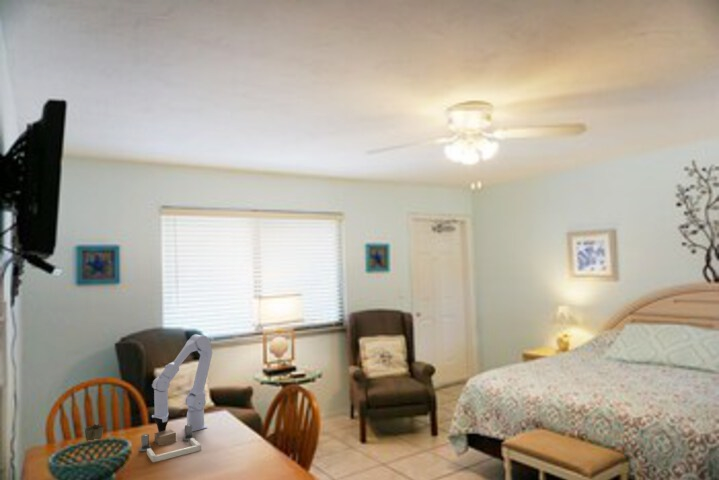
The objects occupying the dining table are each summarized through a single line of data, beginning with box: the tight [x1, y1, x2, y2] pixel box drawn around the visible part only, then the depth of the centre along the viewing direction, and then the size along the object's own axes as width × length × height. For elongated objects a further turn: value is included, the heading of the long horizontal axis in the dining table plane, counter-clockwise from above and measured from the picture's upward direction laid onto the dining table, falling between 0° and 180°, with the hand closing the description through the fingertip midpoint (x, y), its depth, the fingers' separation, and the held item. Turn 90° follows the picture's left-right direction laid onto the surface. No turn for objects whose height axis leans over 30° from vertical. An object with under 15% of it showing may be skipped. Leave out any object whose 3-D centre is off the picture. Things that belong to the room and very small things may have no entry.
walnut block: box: [153, 428, 177, 446], centre depth 211 cm, size 7×7×4 cm
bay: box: [146, 438, 202, 463], centre depth 197 cm, size 12×19×2 cm, turn 124°
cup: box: [84, 423, 104, 442], centre depth 211 cm, size 8×7×8 cm
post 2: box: [182, 424, 196, 442], centre depth 212 cm, size 5×5×6 cm
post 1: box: [138, 433, 153, 453], centre depth 202 cm, size 5×5×6 cm
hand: (162, 434), depth 216 cm, fingers closed
